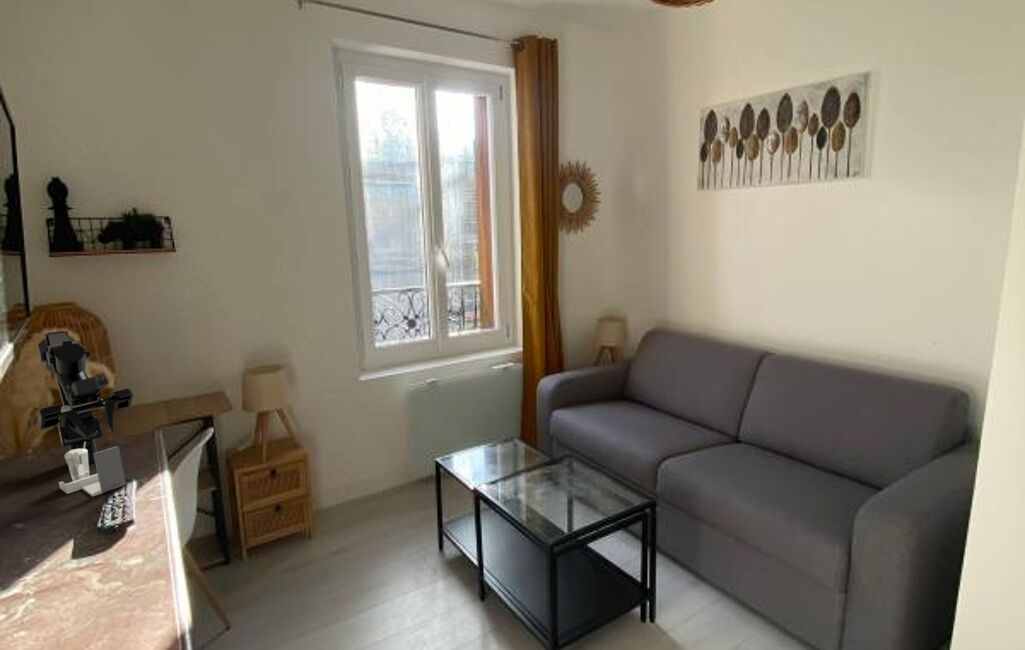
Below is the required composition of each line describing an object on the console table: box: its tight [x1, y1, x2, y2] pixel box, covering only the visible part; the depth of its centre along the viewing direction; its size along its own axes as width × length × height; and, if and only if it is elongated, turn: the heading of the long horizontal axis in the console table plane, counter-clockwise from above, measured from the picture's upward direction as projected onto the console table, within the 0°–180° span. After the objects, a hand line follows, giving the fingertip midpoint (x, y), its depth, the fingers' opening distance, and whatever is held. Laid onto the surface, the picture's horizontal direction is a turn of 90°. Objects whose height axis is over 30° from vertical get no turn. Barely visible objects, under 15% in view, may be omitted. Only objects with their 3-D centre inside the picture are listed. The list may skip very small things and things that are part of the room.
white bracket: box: [58, 445, 127, 497], centre depth 136 cm, size 13×10×10 cm
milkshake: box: [64, 442, 91, 482], centre depth 139 cm, size 4×5×10 cm
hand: (100, 434), depth 134 cm, fingers open, 5 cm apart
